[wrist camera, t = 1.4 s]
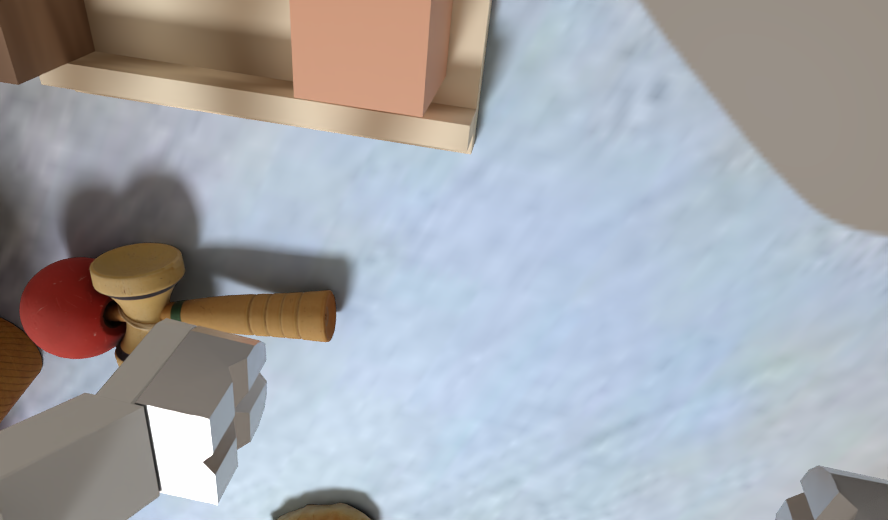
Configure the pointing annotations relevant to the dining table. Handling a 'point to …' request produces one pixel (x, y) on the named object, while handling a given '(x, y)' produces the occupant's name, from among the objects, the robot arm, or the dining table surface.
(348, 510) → the pastry
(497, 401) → the dining table surface
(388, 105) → the salmon pink cube
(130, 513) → the robot arm
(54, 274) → the kendama
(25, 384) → the disposable coffee cup
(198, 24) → the channel
